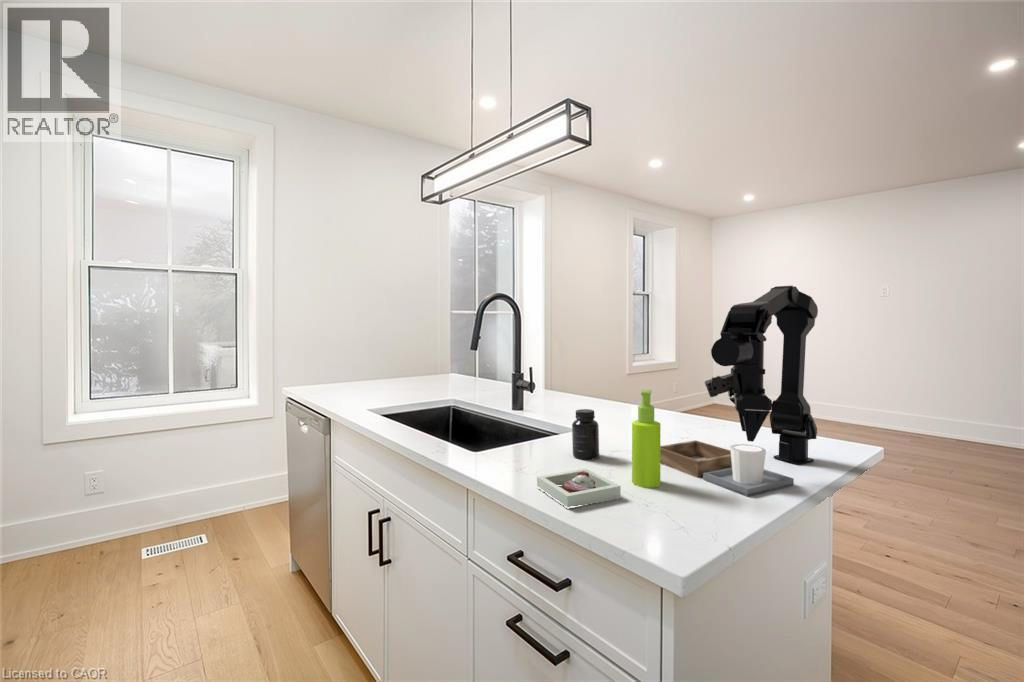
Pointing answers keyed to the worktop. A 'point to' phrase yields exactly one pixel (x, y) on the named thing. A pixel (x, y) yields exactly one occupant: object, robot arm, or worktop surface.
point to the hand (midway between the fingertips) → (747, 436)
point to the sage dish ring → (599, 494)
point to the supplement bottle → (585, 435)
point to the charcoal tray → (768, 484)
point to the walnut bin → (679, 459)
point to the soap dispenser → (646, 445)
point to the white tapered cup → (747, 463)
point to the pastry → (579, 483)
